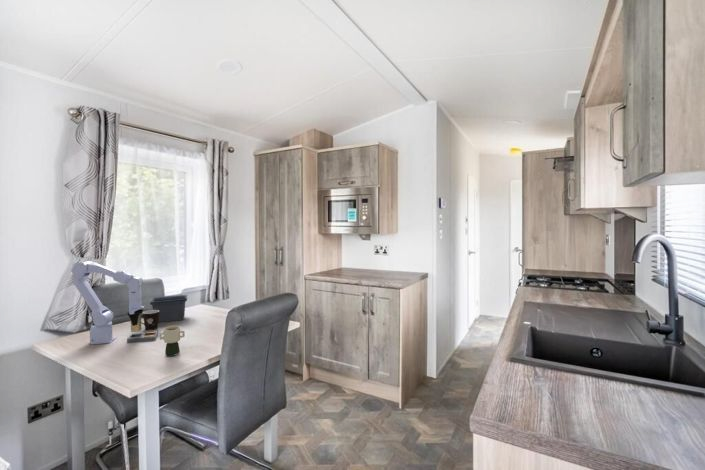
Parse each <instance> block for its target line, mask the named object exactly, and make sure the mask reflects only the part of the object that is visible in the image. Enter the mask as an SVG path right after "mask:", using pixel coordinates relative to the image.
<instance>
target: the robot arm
mask: <svg viewBox="0 0 705 470" xmlns="http://www.w3.org/2000/svg"><path fill="white" fill-rule="evenodd" d="M70 272H71V273H72V283H73V285H74V286H75V288H76V289H77V291H78V292H79V294H80V296H81V297H82V299H83V300H84V301H85V304H87V306H88V308H89V309H90V310H91V317H92V322H93V324H94V325H91V326H90V328H89V345H99V344H101V345H102V344H109V343H112V342H113V341H114V340H115V339H116V336H113V335H114V334H113V319H114V317H115V314H114V312H113V311H112V310H110V309H109V308H108V307H107V306H105V305H103V303H102V302H101V300H100V299H99V297H98V295H97V294H96V292H95V290H94V289H93V288H92V285H90V284H89V282H88V278H89V277H90V275H91V273H98V274H100V275H101V274H102V275H105V276H107V277H110V278H112V279H113V280H114V281H115V282H116V283H120V284H122V285H124V286H127V288H128V301H129V302H128V304H129V305H128V306H129V307H128V309H129V310H128V311H129V312H127V316H128V318H129V319H130V324H131V323H132V326H134V325H137V323H138V317H139V314H140V313H141V315H143V312H144V308H145V306H143V301H142V297H143V296H142V284H143V281H144V280H143V278H142V277H140V276H139V275H134V274H130V273H127V272H126V270H118V271H115V270H113V269H111V268H109V267H106V266H105V265H102V264H99V263H98V262H94V261H92V260H85V261H81V262H76V263H75V264H73V266H72V268H71V270H70Z"/></svg>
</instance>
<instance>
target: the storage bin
mask: <svg viewBox="0 0 705 470" xmlns="http://www.w3.org/2000/svg"><path fill="white" fill-rule="evenodd" d="M187 301H188V294H178V295H167V296H165V295H164V296H156V297H152V298H150V299H149V302H150V303H149V305H151V306H152V310H159V319H158V323H164V322H172V321H174V322H175V321H181V320H184V319H185V315H186V314H185V312H186V311H185V310H186V302H187Z"/></svg>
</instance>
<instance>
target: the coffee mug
mask: <svg viewBox="0 0 705 470" xmlns="http://www.w3.org/2000/svg"><path fill="white" fill-rule="evenodd" d="M141 318H142V319H143V322H142V321H141V325H144V329H145V331H152V330H157V329H158V327H159V322H158V319H159V310H153V309H149V310H145V311H143V312H142V314H141Z"/></svg>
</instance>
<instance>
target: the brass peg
mask: <svg viewBox="0 0 705 470" xmlns="http://www.w3.org/2000/svg"><path fill="white" fill-rule="evenodd" d="M141 315H142V314H141V313H140V314H139V317H138V323H137V325H134V326H132V323H131V322H130V333H140V332H141V330H142V323H141V322H142V316H141Z"/></svg>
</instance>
